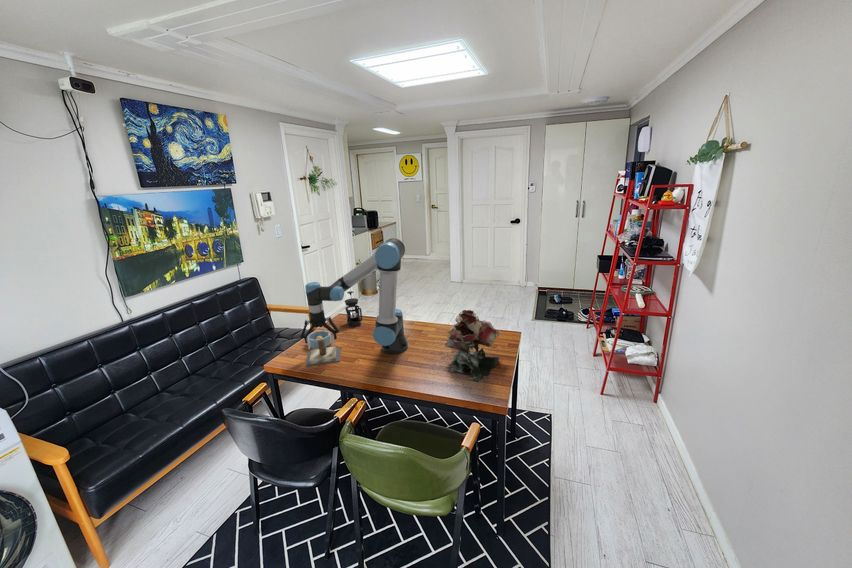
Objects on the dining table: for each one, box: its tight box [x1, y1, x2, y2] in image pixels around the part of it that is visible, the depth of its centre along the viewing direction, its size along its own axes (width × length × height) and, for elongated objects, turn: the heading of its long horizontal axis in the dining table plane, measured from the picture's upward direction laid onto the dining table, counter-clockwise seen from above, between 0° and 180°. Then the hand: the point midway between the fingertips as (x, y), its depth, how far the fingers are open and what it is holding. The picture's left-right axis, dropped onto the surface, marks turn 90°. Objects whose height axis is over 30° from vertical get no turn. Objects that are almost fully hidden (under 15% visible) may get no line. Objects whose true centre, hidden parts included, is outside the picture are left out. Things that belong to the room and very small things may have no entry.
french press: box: [344, 290, 363, 328], centre depth 236 cm, size 12×9×23 cm
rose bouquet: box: [444, 309, 500, 383], centre depth 179 cm, size 26×29×30 cm
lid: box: [309, 339, 338, 364], centre depth 196 cm, size 14×14×10 cm
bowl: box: [307, 329, 332, 350], centre depth 213 cm, size 13×13×6 cm
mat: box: [305, 347, 341, 368], centre depth 198 cm, size 18×16×1 cm
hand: (322, 346), depth 196 cm, fingers open, 13 cm apart
